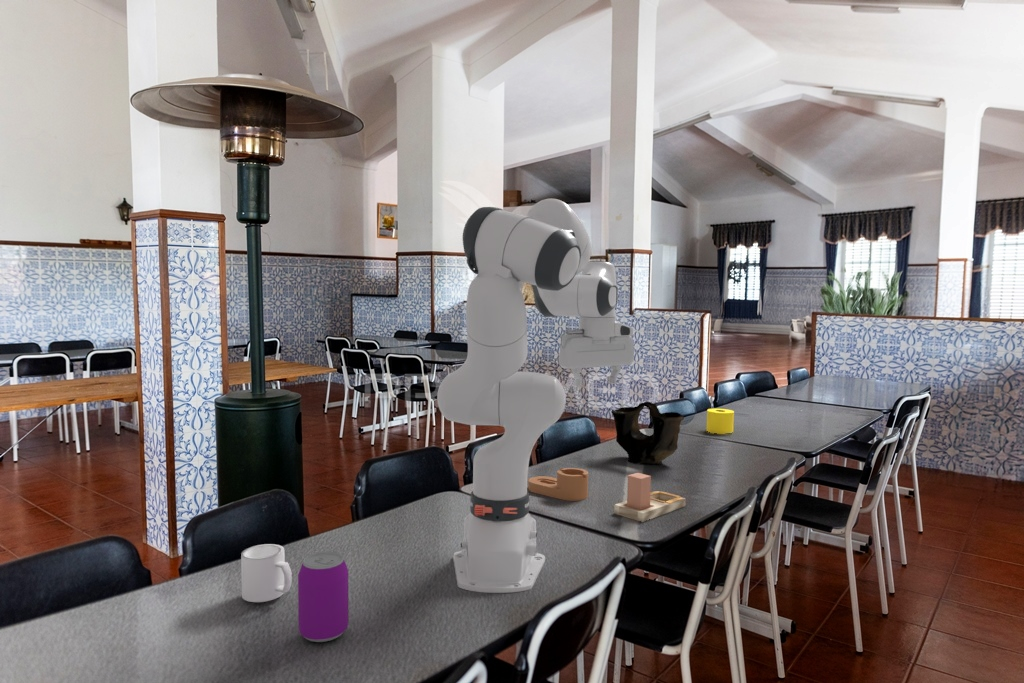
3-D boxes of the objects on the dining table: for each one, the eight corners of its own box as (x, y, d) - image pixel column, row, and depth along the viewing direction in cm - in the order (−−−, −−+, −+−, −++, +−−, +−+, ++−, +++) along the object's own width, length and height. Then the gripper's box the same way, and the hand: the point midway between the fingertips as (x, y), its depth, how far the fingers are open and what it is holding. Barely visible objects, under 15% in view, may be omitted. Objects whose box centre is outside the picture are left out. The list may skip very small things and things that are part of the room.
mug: (304, 590, 123) (303, 549, 122) (276, 607, 116) (276, 564, 115) (261, 581, 126) (261, 541, 126) (232, 597, 119) (231, 555, 119)
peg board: (642, 523, 161) (642, 512, 161) (614, 514, 167) (614, 503, 167) (685, 508, 173) (685, 497, 173) (657, 500, 179) (657, 490, 179)
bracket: (593, 497, 182) (594, 471, 182) (576, 504, 176) (576, 477, 175) (540, 484, 193) (540, 460, 193) (522, 490, 187) (522, 465, 187)
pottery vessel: (688, 467, 214) (691, 405, 212) (671, 473, 206) (673, 409, 204) (622, 453, 231) (623, 395, 229) (603, 459, 223) (605, 399, 221)
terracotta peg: (639, 519, 164) (641, 478, 163) (626, 515, 167) (627, 475, 166) (649, 515, 167) (651, 476, 166) (636, 511, 170) (637, 472, 169)
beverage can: (288, 638, 106) (287, 564, 105) (318, 616, 113) (318, 546, 112) (329, 648, 103) (328, 572, 102) (358, 625, 110) (357, 553, 109)
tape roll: (734, 433, 266) (735, 410, 266) (731, 438, 257) (732, 414, 257) (708, 431, 271) (709, 407, 270) (704, 435, 261) (705, 411, 261)
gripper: (568, 330, 156) (567, 390, 158) (638, 328, 166) (637, 384, 167) (554, 328, 162) (553, 386, 163) (622, 326, 172) (621, 380, 173)
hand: (596, 385), depth 165 cm, fingers open, 8 cm apart
